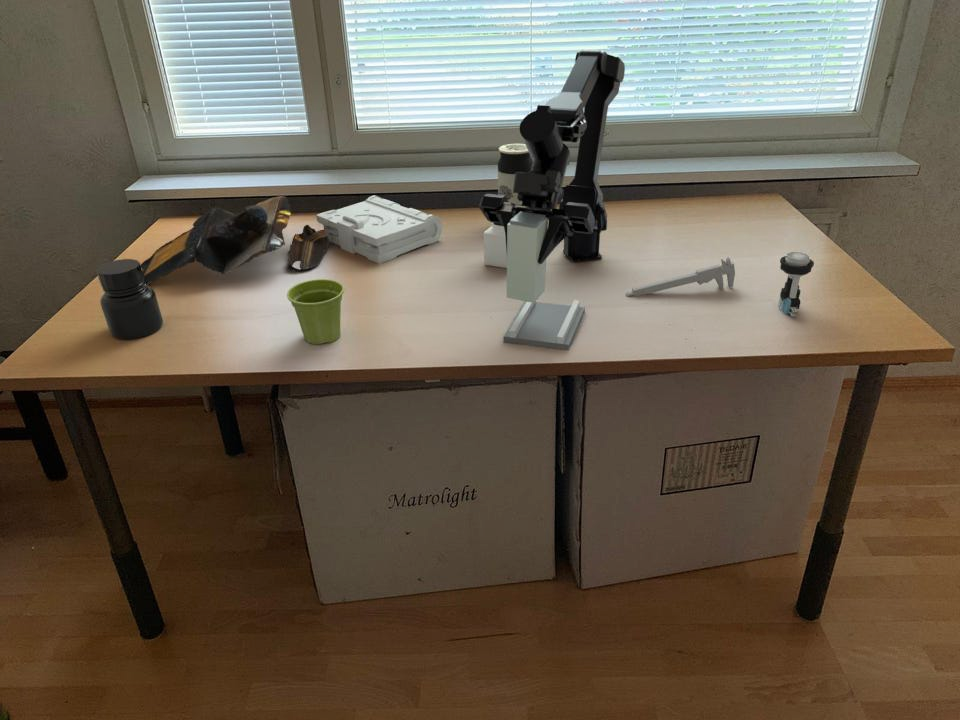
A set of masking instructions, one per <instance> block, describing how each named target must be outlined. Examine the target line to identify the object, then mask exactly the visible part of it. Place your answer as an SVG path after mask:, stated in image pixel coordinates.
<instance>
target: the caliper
mask: <svg viewBox="0 0 960 720" xmlns="http://www.w3.org/2000/svg"><path fill="white" fill-rule="evenodd" d="M720 261H721V265H720V264H715V265H710V266H707V267H704V268H699V269H696V270H695V272H693V273H692V272H691V273H688V274H685V275H680V276H675V277H672V278H669V279H664V280H660V281H656V282H653V283H649V284H645V285H641V286H636V287H633V288H631V290H629V291H627V292H626V293H625V295H626V296H627V297H632V296H634V297H639V296H641V297H642V296H644V295H649V294H653V293H657V292H660V291H664V290H665V291H666V290H668V289H672V288H673V289H674V288H676V287H681V286H684V285H689V284H693V283H697V284H698V285H699V286H701V285H703V284H708V283H709V282H711V281H712V280H715V282H716V284H717V285H718V288H720V289H721V290H724V277H723V275H726V279H727V280H726V281H727V287H729V289H732V288H733V287H734V281H735V277H736V269H735V263H734V262H733V261H731V258H730V257H729V256H727V258H726V259H725V260H724V259H723V258H721V259H720Z"/></svg>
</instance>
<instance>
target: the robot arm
mask: <svg viewBox="0 0 960 720" xmlns="http://www.w3.org/2000/svg"><path fill="white" fill-rule="evenodd" d="M625 72H626V67H625V62H624V61H623V60H622V59H621V58H620V57H619V56H617V55H616V56H614V55H611V54H608V53H607V52H606V51H604V50H602V49H581V50H578V51H577V52H576V55H575V61H574V65H573V67H572V68H571V71H570V73H569V75H568V77H567V78H566V81H565V83H564V85H563V87H562V88H561V90H560V92H559V94H557V96H554V97H552V98H550V99H549V100H548V101H546V103H545V104H538V105H537V107H536V110H534V111H531V112H530V113H528V114H527V115H525V117H524V118H523V120H521V121H520V124H519V133H520V135H521V138H522V139H523V143H524V144H525V145H526V147H527V149H528V151H529V153H530V156H531V158H533V164H532V168H531V171H528V172H527V173H522V172H516V173H515V180H514V187H513V193H518V196H517V198H518V200H519V201H522V204H521V205H517V204H513V203H509V202H508V200H507V198H506V196H504V195H498V194H496V193H495V194H493V193H486V194H484V195H483V196H482V197H481V199H480V202H479V205H478V208H479V210H480V211H481V213H482V215H483V216H484V217H485V219H486V220H487V221H488V222H490V223H491V222H493V223H501V224H502V225H503V227H504V230H505V238H506V252H507V224H508V223H510V220H511V219H512V218H513V217H515V216H516V215H517V214H518V213H519V212H520V211H521V212H527V213H534V214H541V215H546V218H548V229H547V233H546V236H545V239H544V242H543V245H542V247H541V250H540V254H539V259H538V262H539V264H542V263H543V262H544V261H545V259H546V260H547V258H548V257H549V256H550V254H552V252H553V251H554V250H555V248H557V247H558V245H559V244H560V243H562V241H563V249H562V252H563V253H564V254H565V255H566V257H567V258H568V259H569V260H570V261H571V262H573V263H576V262H577V263H578V262H584V261H585V262H586V261H591V260H593V261H594V260H600V259H602V258H603V255H602V254H601V253H600V241H601V240H600V238H601V233H602V232H604V231H607V230H608V229H607V228H608V213H607V211H606V207H605V203H603V201H604V194H603V192H602V190H601V188H600V184H599V182H598V177H599V170H600V165H601V164H600V163H601V158H602V151H603V144H604V136H605V130H606V125H607V124H606V123H607V118H608V117H607V116H608V112H609V111H608V110H609V106H610V104H611V103H612V102H613V101H614V99H615V98H616V97H617V95H618V94H619V92H620V86H621V83H623V81H624V78H625ZM577 142H579V143H578V151H577V157H576V164H575V170H574V177H573V179H572V180H571V182H570V183H568V184H566V185H565V186H564V189H563V188H562V187H563V183H564V180H565V176H566V171H567V169H568V166H569V165H570V161H571V159H570V156H571V151H570V149H569V147H568V146H567V145H566V144H565V143H572V144H575V143H577ZM562 194H563V197H562V198H561V200H560V202H559V199H560V196H562ZM558 202H559V207H558V208H557V206H558Z"/></svg>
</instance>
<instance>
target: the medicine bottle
mask: <svg viewBox="0 0 960 720" xmlns="http://www.w3.org/2000/svg"><path fill="white" fill-rule="evenodd" d="M482 235H483V261H484V262H483V263H484V266H489V267H490V266H491V267H497V268H504V269H507V252H506V238H505V230H504V227H503V225H502V224H501V223H493V222H490V227H489V228H488V229H486V230H485V231H484V232H483V234H482Z"/></svg>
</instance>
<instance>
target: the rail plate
mask: <svg viewBox="0 0 960 720" xmlns="http://www.w3.org/2000/svg"><path fill="white" fill-rule="evenodd" d="M580 304H581V302H580V300H577V299H573V302H572V304H571V305H567V304H558V303H549V302H539V301H536V302H535V303H531V302H526V301H523V303H522V305H521V306H520V308H519V310H518V312H517V313H516V315H515V317H514V319H513V320H512V322H511V323H510V325H509V326H508V328H507V330H506V331H505V333H504V335H503V342H504V343H511V344H519V345H526V346H535V347H541V348H549V349H558V350H563V351H570V348H571V346H572V343H573V340H574V338H575V336H576V334H577V333H578V332H577V331H578V329H579V328H580V327H579V326H580V324H581V322H582V320H583V318H584V316H585V313H586V312H585V311H586V307H584V306H580Z"/></svg>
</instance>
